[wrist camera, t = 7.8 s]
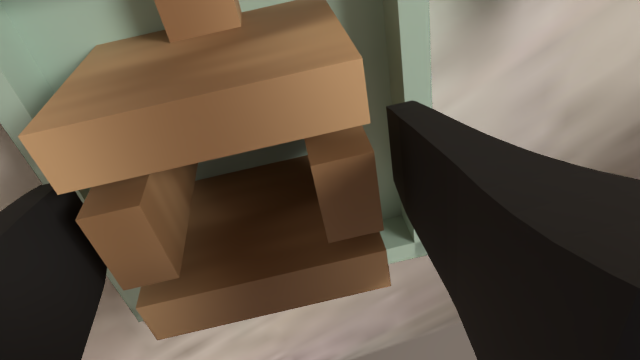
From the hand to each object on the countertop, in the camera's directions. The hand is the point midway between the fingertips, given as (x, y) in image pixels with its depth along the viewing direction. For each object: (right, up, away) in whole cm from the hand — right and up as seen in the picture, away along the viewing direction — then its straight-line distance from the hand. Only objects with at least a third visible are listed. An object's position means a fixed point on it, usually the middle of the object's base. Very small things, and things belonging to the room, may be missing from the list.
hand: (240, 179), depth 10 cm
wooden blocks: (0, +2, +2) cm, 3 cm away
